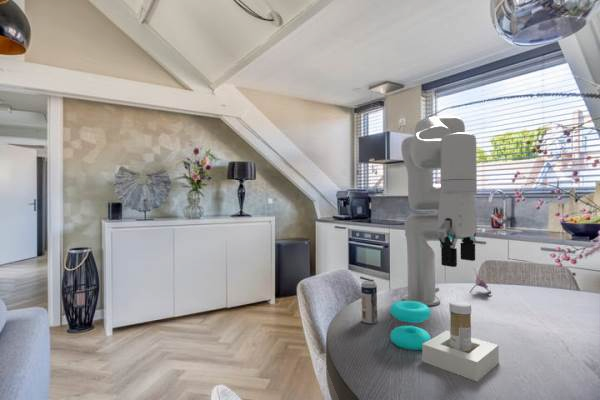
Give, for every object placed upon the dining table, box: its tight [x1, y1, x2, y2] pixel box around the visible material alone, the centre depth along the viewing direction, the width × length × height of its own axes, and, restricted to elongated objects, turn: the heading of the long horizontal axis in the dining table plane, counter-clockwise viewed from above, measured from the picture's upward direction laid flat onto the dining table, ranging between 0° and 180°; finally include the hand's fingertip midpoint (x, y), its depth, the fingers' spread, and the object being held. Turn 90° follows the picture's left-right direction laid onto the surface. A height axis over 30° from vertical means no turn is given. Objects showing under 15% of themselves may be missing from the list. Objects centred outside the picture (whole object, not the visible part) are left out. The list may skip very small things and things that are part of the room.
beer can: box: [360, 280, 378, 325], centre depth 104 cm, size 5×5×12 cm
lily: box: [469, 267, 492, 295], centre depth 134 cm, size 12×12×10 cm
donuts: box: [389, 300, 432, 351], centre depth 89 cm, size 10×10×10 cm
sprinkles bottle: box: [448, 300, 472, 353], centre depth 78 cm, size 5×5×14 cm
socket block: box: [421, 330, 500, 382], centre depth 78 cm, size 12×12×4 cm
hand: (458, 262), depth 78 cm, fingers open, 9 cm apart
